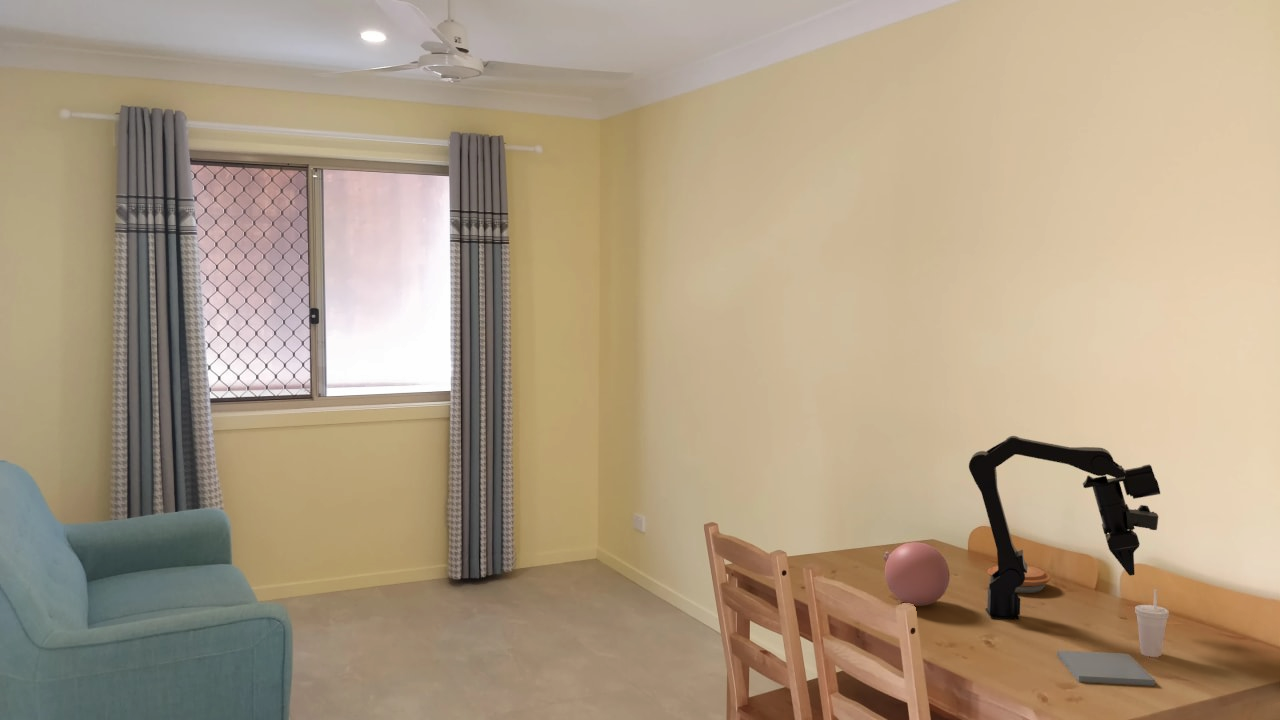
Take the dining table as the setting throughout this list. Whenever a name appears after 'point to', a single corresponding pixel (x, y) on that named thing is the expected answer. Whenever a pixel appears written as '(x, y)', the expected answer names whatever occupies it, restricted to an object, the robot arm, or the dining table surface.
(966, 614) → the dining table surface
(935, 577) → the balloon
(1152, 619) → the smoothie
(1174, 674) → the dining table surface
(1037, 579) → the pie
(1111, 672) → the slate trivet
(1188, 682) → the dining table surface
